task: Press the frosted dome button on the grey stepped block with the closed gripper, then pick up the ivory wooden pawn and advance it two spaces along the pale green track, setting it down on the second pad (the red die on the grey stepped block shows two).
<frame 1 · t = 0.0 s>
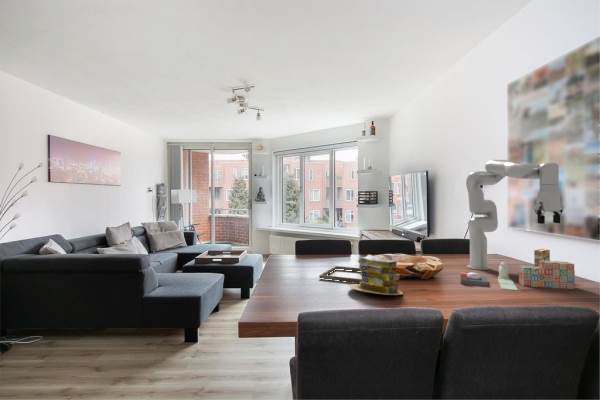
hand: (548, 223, 161), 31 cm above the table, tool pointing down, fingers open, 9 cm apart
stack of blocks: (545, 286, 163), on the table
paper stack: (375, 293, 154), on the table
candy box: (542, 278, 180), on the table
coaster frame: (349, 276, 185), on the table
grey stepped block: (473, 282, 171), on the table
dome: (473, 275, 171), point 3 cm above the table, slide at 0.0 cm
track: (506, 284, 166), on the table
pawn: (503, 278, 179), on the table
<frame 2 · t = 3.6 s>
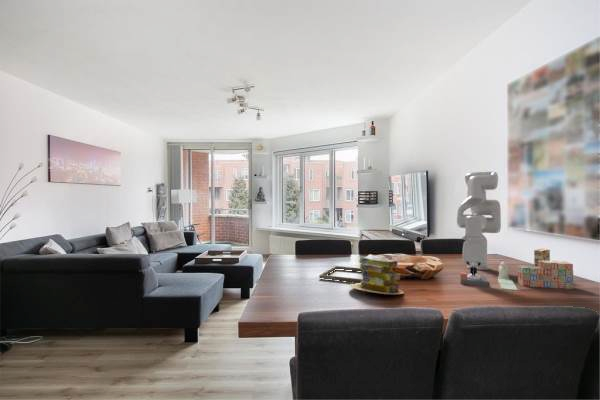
hand: (473, 274, 171), 4 cm above the table, tool pointing down, fingers closed
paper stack: (375, 292, 154), on the table
dome: (473, 277, 171), point 3 cm above the table, slide at -0.7 cm, touching gripper
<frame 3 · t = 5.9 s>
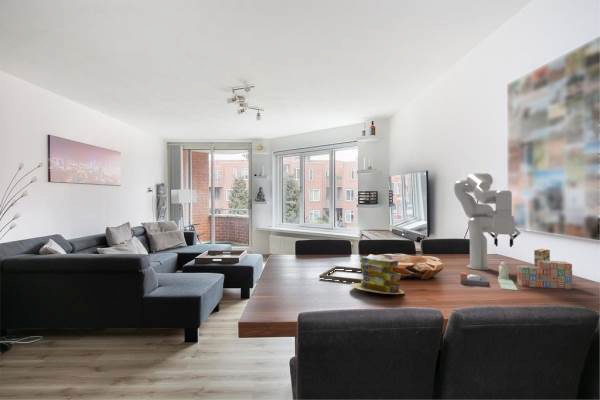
hand: (503, 246, 179), 18 cm above the table, tool pointing down, fingers open, 6 cm apart
dome: (473, 278, 171), point 2 cm above the table, slide at -1.1 cm
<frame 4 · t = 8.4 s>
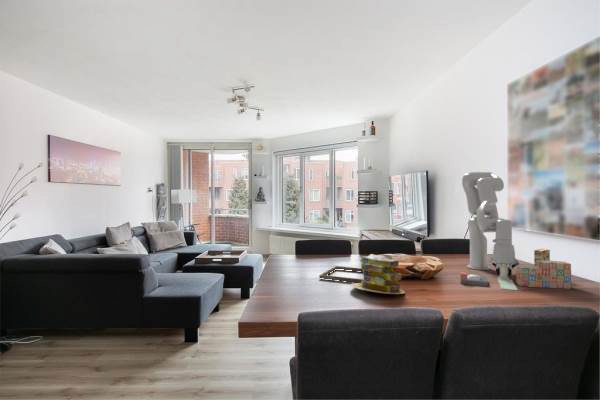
hand: (503, 275, 179), 2 cm above the table, tool pointing down, fingers closed on pawn, 4 cm apart
pawn: (503, 278, 179), on the table, touching gripper
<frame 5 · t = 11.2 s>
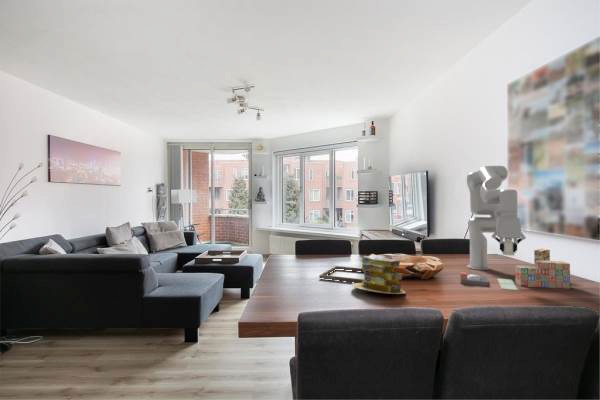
hand: (508, 251, 161), 18 cm above the table, tool pointing down, fingers closed on pawn, 4 cm apart
pawn: (508, 254, 161), point 16 cm above the table, touching gripper
when the fingers open (3 cm above the table, at t = 13.8 s): pawn stays where it is, resting on track.
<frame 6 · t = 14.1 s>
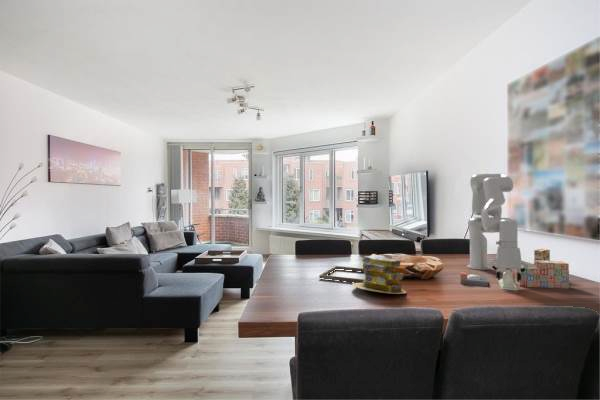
hand: (508, 280, 161), 3 cm above the table, tool pointing down, fingers open, 7 cm apart
pawn: (508, 286, 161), resting on track
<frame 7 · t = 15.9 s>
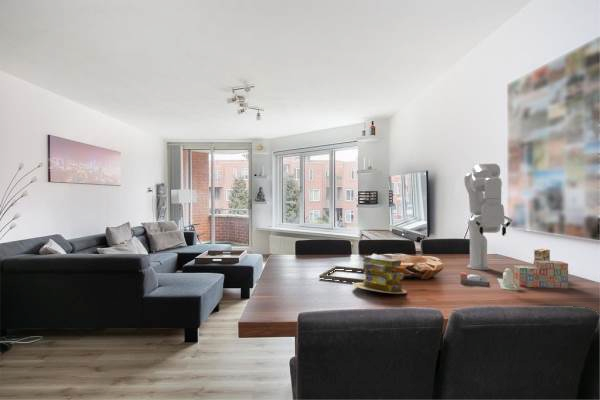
hand: (492, 234, 170), 25 cm above the table, tool pointing down, fingers open, 9 cm apart
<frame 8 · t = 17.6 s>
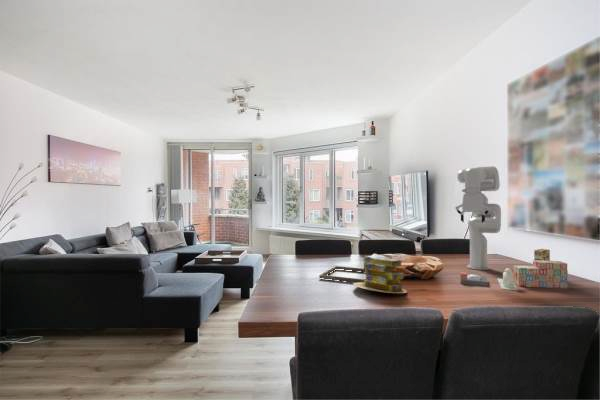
hand: (472, 222, 182), 30 cm above the table, tool pointing down, fingers open, 9 cm apart
at the end: dome slide at -1.1 cm; pawn inside the target area (0.4 cm from its centre), resting on track; pawn tilted 0° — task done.
